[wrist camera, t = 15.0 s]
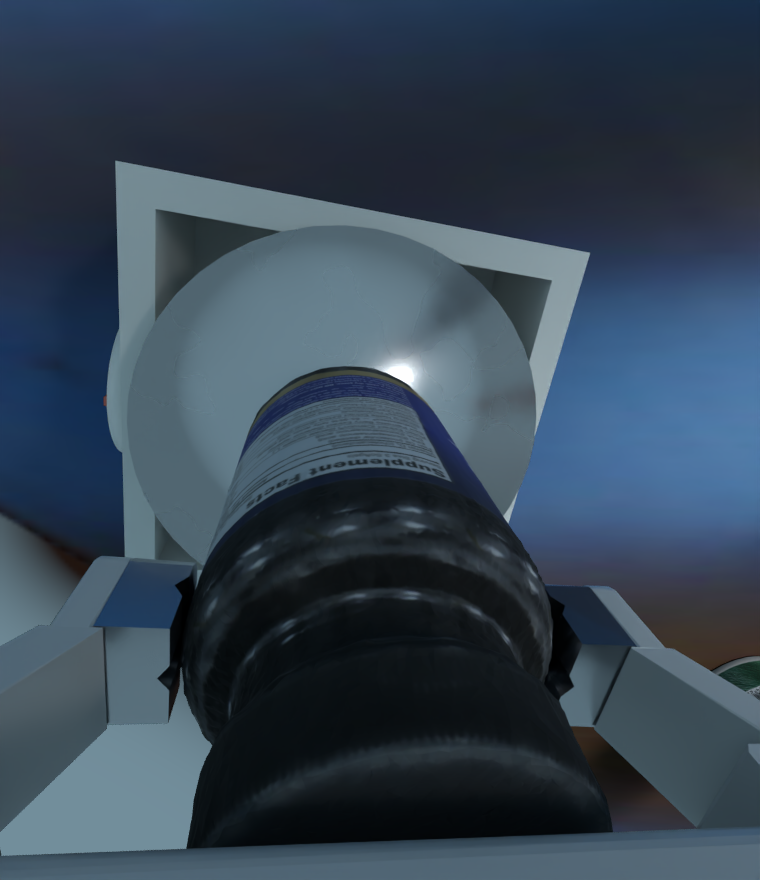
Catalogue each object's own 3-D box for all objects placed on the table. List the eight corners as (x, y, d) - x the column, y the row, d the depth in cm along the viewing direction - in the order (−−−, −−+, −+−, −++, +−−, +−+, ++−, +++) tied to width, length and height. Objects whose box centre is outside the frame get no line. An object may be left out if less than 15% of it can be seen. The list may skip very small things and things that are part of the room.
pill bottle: (439, 531, 17) (626, 984, 7) (257, 547, 16) (165, 1074, 6) (444, 353, 14) (752, 650, 4) (230, 364, 14) (-2, 745, 4)
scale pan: (163, 193, 16) (121, 181, 12) (535, 262, 18) (588, 268, 15) (160, 535, 20) (130, 597, 17) (456, 555, 23) (483, 613, 19)
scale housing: (154, 179, 18) (86, 155, 13) (517, 248, 21) (590, 252, 16) (153, 504, 23) (105, 587, 18) (447, 527, 26) (483, 605, 21)
